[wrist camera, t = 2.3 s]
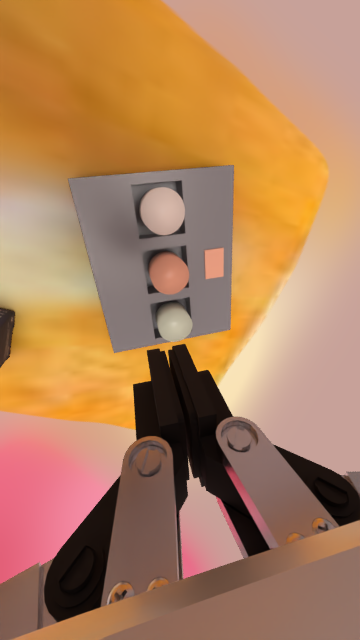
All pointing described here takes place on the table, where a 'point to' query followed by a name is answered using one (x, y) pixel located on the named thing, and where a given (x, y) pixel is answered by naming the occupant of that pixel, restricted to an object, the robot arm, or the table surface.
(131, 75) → the table surface
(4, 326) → the small box
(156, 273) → the terracotta button
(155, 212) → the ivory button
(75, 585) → the robot arm
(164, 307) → the sage button
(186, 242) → the button box
